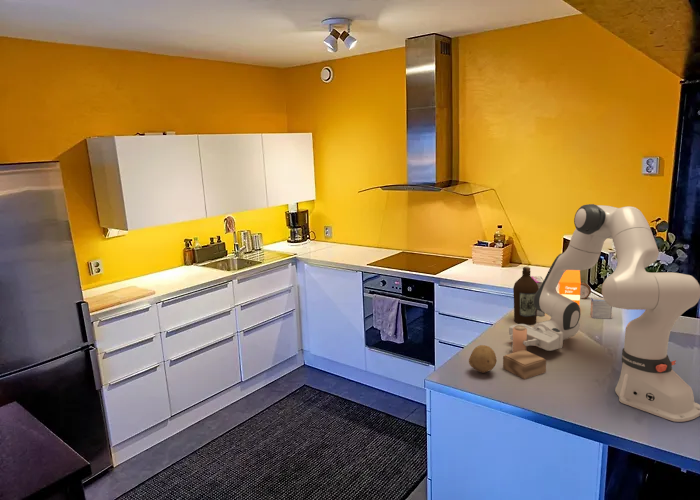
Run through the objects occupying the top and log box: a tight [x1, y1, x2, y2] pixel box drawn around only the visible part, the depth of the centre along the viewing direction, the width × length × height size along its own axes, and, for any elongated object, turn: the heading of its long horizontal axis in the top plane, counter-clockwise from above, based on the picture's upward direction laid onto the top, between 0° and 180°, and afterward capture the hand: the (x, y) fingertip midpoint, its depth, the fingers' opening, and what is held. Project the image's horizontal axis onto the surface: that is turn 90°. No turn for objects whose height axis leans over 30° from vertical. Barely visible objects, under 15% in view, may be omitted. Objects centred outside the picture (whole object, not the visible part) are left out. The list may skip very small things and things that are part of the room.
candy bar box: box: [530, 275, 546, 317], centre depth 223 cm, size 11×5×16 cm, turn 168°
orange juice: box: [557, 270, 581, 306], centre depth 224 cm, size 8×9×20 cm
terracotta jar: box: [511, 325, 528, 353], centre depth 179 cm, size 5×5×11 cm
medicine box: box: [589, 297, 613, 320], centre depth 213 cm, size 8×4×9 cm, turn 74°
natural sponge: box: [468, 344, 497, 374], centre depth 165 cm, size 9×9×10 cm
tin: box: [580, 281, 592, 300], centre depth 243 cm, size 15×3×8 cm, turn 58°
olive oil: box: [512, 266, 539, 326], centre depth 210 cm, size 11×11×25 cm
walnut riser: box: [502, 349, 547, 380], centre depth 166 cm, size 10×10×5 cm
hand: (517, 340), depth 178 cm, fingers closed on terracotta jar, 5 cm apart
